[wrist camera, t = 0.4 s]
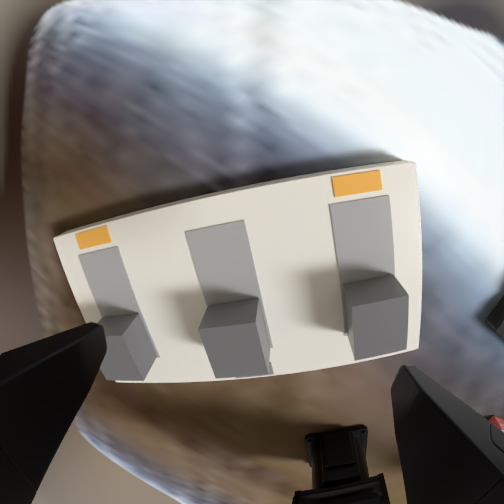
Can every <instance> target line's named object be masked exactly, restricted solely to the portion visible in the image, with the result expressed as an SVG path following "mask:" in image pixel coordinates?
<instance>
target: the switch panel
mask: <svg viewBox="0 0 504 504" xmlns="http://www.w3.org/2000/svg"><path fill="white" fill-rule="evenodd" d="M53 239H54V243H55V246H56V249H57V251H58V254H59V257H60V260H61V263H62V266H63V268H64V271H65V274H66V276H67V279H68V282H69V284H70V287H71V289H72V292H73V294H74V297H75V299H76V301H77V304H78V306H79V308H80V311H81V313H82V315H83V317H84V320H85V322H86V323H89V322H94V323H98V322H99V320H100V319H101V318H102V317H109V316H119V315H129V314H138V313H139V315H140V318H141V320H142V323H143V325H144V327H145V330H146V332H147V335H148V337H149V339H150V342H151V344H152V346H153V349H154V351H155V353H156V355H157V358H156V359H155V361H154V363H153V365H152V367H151V369H150V371H149V372H148V374H147V376H146V378H145V380H144V381H120V380H115V381H116V382H124V383H173V382H201V381H218V380H232V379H244V378H255V377H265V376H274V375H282V374H290V373H297V372H304V371H311V370H318V369H324V368H330V367H336V366H341V365H347V364H352V363H357V362H362V361H367V360H372V359H377V358H381V357H386V356H390V355H395V354H399V353H403V352H407V351H411V350H415V349H418V346H419V334H420V320H421V300H422V237H421V217H420V203H419V191H418V181H417V172H416V164H415V162H411V161H406V160H400V161H392V162H384V163H377V164H369V165H362V166H355V167H349V168H342V169H336V170H329V171H323V172H317V173H311V174H305V175H299V176H294V177H288V178H283V179H277V180H272V181H267V182H262V183H257V184H252V185H247V186H242V187H237V188H232V189H228V190H223V191H218V192H214V193H209V194H205V195H200V196H196V197H192V198H187V199H183V200H179V201H175V202H171V203H166V204H162V205H158V206H154V207H151V208H147V209H143V210H139V211H135V212H131V213H128V214H124V215H120V216H116V217H113V218H109V219H106V220H102V221H99V222H95V223H92V224H88V225H85V226H81V227H78V228H75V229H71V230H68V231H66V232H64V233H62V234H60V235H58V236H56V237H54V238H53ZM388 275H394V276H395V277H396V279H397V280H398V281H399V282H400V284H401V285H402V286H403V288H404V289H405V291H406V292H407V293H408V295H409V312H408V335H407V349H406V350H402V351H398V352H393V353H389V354H385V355H380V356H375V357H371V358H366V359H361V360H356V361H355V360H354V356H353V353H352V349H351V346H350V342H349V339H348V336H347V326H346V313H345V302H344V292H343V284H346V283H351V282H356V281H362V280H367V279H372V278H377V277H383V276H388ZM255 298H259V300H260V304H261V308H262V313H263V317H264V321H265V326H266V330H267V334H268V339H269V343H270V358H269V372H268V374H262V375H253V376H242V377H230V378H215V375H214V373H213V370H212V367H211V365H210V362H209V359H208V356H207V354H206V351H205V348H204V345H203V342H202V340H201V337H200V334H199V331H198V328H199V325H200V323H201V321H202V318H203V316H204V314H205V311H206V309H207V307H208V305H213V304H220V303H227V302H234V301H241V300H248V299H255Z"/></svg>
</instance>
